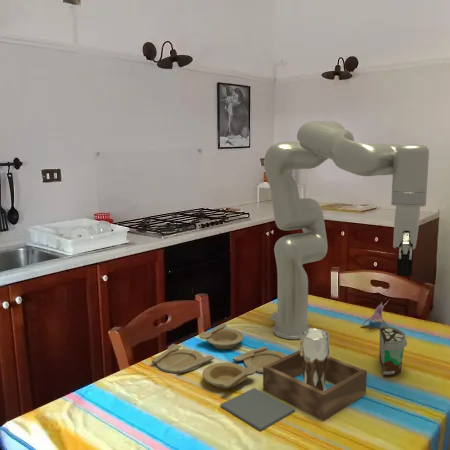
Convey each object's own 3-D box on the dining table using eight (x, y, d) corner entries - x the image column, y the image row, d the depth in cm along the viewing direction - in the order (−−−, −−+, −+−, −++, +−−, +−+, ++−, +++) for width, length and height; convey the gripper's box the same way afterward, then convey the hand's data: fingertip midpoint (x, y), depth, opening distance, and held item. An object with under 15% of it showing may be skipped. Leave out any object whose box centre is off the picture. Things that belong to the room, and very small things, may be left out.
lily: (387, 322, 162) (373, 297, 163) (410, 320, 151) (395, 293, 152) (361, 339, 158) (347, 313, 158) (383, 339, 147) (368, 310, 148)
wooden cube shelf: (263, 389, 118) (263, 366, 117) (305, 368, 128) (306, 347, 127) (323, 421, 104) (324, 395, 103) (366, 394, 115) (366, 370, 114)
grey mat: (220, 406, 111) (220, 404, 110) (254, 390, 118) (254, 387, 118) (260, 431, 101) (260, 428, 101) (294, 411, 108) (294, 409, 108)
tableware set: (142, 363, 134) (142, 349, 133) (215, 332, 155) (215, 320, 155) (236, 408, 111) (236, 392, 110) (306, 364, 132) (306, 350, 131)
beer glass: (296, 385, 119) (297, 328, 117) (323, 384, 120) (324, 327, 117) (303, 400, 113) (304, 340, 110) (332, 398, 113) (333, 338, 111)
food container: (409, 381, 120) (411, 344, 119) (383, 379, 122) (385, 342, 120) (401, 360, 132) (403, 325, 131) (378, 358, 134) (379, 324, 132)
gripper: (393, 194, 120) (390, 260, 123) (389, 202, 104) (385, 278, 107) (425, 195, 117) (421, 262, 120) (426, 204, 101) (422, 282, 104)
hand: (404, 270), depth 114 cm, fingers open, 9 cm apart
